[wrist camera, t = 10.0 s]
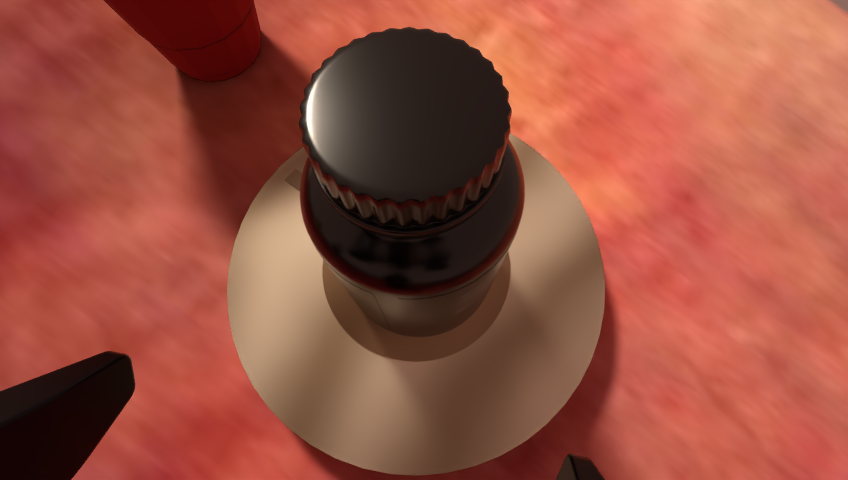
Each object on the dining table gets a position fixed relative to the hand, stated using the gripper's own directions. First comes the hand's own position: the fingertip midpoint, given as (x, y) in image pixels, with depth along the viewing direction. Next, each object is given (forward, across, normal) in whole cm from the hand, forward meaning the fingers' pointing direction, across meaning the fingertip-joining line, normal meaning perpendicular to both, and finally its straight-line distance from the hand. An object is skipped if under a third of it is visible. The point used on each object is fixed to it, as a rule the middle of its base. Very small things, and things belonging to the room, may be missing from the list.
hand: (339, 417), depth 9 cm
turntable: (+14, 0, +4) cm, 15 cm away
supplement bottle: (+12, 0, +3) cm, 13 cm away
